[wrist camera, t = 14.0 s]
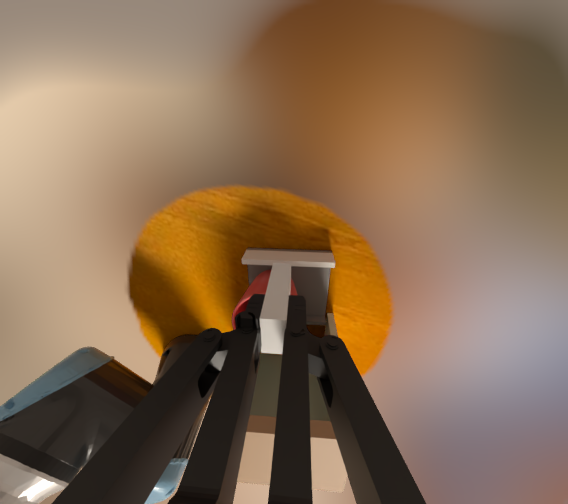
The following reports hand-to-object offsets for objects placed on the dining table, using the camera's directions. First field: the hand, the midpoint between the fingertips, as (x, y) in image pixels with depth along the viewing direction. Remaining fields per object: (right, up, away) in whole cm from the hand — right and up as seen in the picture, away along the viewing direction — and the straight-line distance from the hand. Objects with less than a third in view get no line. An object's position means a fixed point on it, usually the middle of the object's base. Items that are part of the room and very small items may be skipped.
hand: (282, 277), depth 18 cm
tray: (+1, -4, +23) cm, 23 cm away
